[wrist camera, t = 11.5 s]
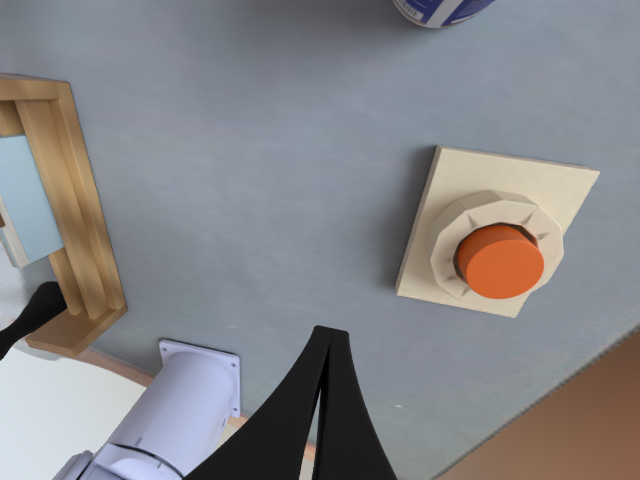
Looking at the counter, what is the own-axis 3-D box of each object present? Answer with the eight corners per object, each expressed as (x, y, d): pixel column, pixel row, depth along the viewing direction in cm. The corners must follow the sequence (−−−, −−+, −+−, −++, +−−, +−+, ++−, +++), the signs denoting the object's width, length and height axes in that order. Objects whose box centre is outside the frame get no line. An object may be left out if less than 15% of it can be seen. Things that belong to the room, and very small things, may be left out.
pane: (80, 242, 22) (-10, 288, 17) (64, 238, 22) (-31, 283, 17) (47, 134, 18) (-83, 150, 13) (27, 131, 19) (-109, 145, 13)
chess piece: (74, 324, 29) (-53, 424, 20) (35, 296, 28) (-118, 389, 19) (90, 304, 27) (-42, 403, 19) (49, 273, 26) (-113, 363, 18)
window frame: (128, 310, 27) (75, 358, 22) (89, 302, 27) (28, 347, 22) (69, 82, 18) (-42, 77, 13) (13, 73, 18) (-115, 66, 14)
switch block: (508, 306, 20) (528, 338, 18) (395, 285, 21) (398, 312, 18) (585, 166, 16) (629, 181, 13) (437, 144, 16) (449, 154, 14)
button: (510, 286, 17) (524, 305, 15) (448, 274, 17) (455, 292, 15) (540, 231, 15) (559, 247, 14) (470, 219, 15) (481, 233, 14)
